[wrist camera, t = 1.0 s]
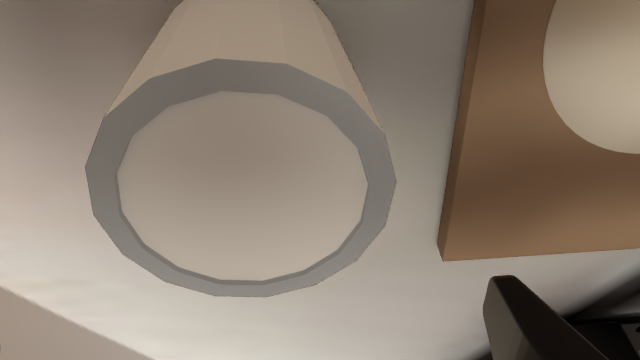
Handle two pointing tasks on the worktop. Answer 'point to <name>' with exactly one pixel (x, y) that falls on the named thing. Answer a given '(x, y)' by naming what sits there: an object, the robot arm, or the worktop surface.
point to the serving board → (546, 131)
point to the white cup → (242, 152)
